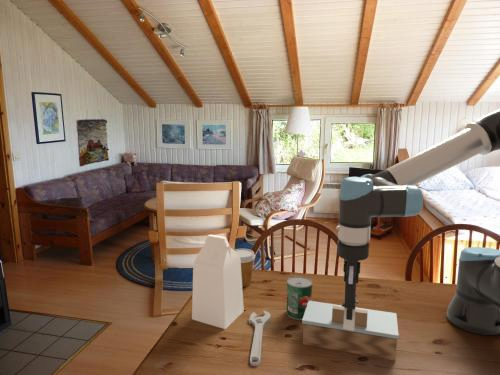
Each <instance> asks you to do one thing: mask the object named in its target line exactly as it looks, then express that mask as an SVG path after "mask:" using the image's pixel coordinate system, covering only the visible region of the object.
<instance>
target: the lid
mask: <svg viewBox="0 0 500 375" xmlns="http://www.w3.org/2000/svg"><path fill="white" fill-rule="evenodd" d="M397 317H398V316H397V313H396V312H391V311H390V312H389V311H384V310H376V309H371V308H370V309H368V308H361V307H357V306H356V307H355V325H354V331H352V330H346V329H343V323H344V307H342V304H335V303H330V302H329V303H328V302H321V301H314V300H312V301H308V304H307V307H306V310H305V313H304V316H303V319H302V320H301V324H302V325H303V324H309V325H315V326H321V327H327V328H333V329H339V330H345V331H352V332H358V333H364V334H370V335H376V336H382V337H388V338H394V339H397V340H398V339H399V337H400V336H399V335H400V334H399V326H398V318H397Z"/></svg>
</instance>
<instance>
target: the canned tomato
mask: <svg viewBox="0 0 500 375" xmlns="http://www.w3.org/2000/svg"><path fill="white" fill-rule="evenodd" d="M312 296H313V280H312V279H311V278H308V277H306V276H301V275H299V276H298V275H296V276H290V277H289V278H288V279H287V281H286V315H287V317H288V318H290V319H293V320H297V321H302V319H303V316H304V313H305V310H306V307H307V304H308V301H313V297H312Z"/></svg>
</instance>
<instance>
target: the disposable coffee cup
mask: <svg viewBox="0 0 500 375" xmlns="http://www.w3.org/2000/svg"><path fill="white" fill-rule="evenodd" d="M233 250H234V251H235V252H236V253H237V254H238V255H239V256H240V260H241V275H242V288H244V287H248V286H251V285H252V284H251V283H252V277H253V268H254V263H255V262H254V261H255V258H256V255H255V252H254V251H253V250H251V249H250V248H249V249H248V248H236V249H233Z"/></svg>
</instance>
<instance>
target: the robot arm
mask: <svg viewBox="0 0 500 375" xmlns="http://www.w3.org/2000/svg"><path fill="white" fill-rule="evenodd" d="M499 150H500V108H498V109H496V110H493V111H491V112H489V113H487V114H484V115H483V116H481V117H479V118H477V119H475V120H473V121H471V122H468V123H467V124H466V125H465V126H464V129H463V130H461V131H460V132H458V133H455V134H454V135H452V136H449V137H447V138H445V139H444V140H441V141H439V142H437V143H436V144H434V145H431V146H429V147H428V148H425V149H423V150H421V151H420V152H418V153H416V154H414V155H411V156H409V157H408V158H406V159H404V160H401V161H400V162H398V163H396V164H393V165H392V166H390V167H387V168H385V169H384V170H383V169H382V170H381V171H379V172H377V173H375V174H372V173H367V174H363V175H361V176H349V177H344V178H343V179H342V180H341V182H340V186H339V193H338V194H339V195H338V199H339V201H338V225H337V226H335V230H336V231H338V232H337V239H338V241H337V247H336V253H337V256H338V257H339V258H341V259H343V260H344V262H343V267H342V268H343V270H342V271H343V273H344V274H343V281H344V282H345V285H344V302H342V303H341V305H342V307H344V323H343V329H346V330H352V331H354V325H355V307H357V306H356V304H357V305H358V304H359V300H358V299H356V297H357V284H358V283H359V278H360V277H359V276H360V273H361V261H365V260H367V259H368V258H369V255H370V243H369V242H370V241H371V229H372V228H371V227H372V225H371V224H372V221H371V220H372V218H388V217H389V218H397V217H398V218H400V217H401V218H406V217H414V216H415V217H416V216H418V215H419V214H420V213H421V212H422V210H423V207H424V195H423V192H422V190H421V188H419V187H418V186H417V185H418V184H421V183H422V182H425V181H427V180H429V179H430V178H432V177H436V176H437V175H439V174H441V173H443V172H445V171H447V170H449V169H451V168H453V167H455V166H458V165H459V164H461V163H463V162H465V161H468V160H469V159H471V158H474V157H475V156H478V155H481V156H486V155H488V154H490V153H492V152H494V151H499ZM457 268H458V271H457V279H456V288H455V294H454V295H453V298H452V299H451V300H450V303H449V304H448V307H447V310H446V318H447V319H448V321H449V322H450V323H451V324H452V325H454V326H456V327H458V329H461V330H463V331H466V332H469V333H471V334H475V335H476V334H477V335H482V336H496V335H497V336H498V335H500V249H496V248H491V247H485V246H484V247H481V246H479V247H478V246H473V247H472V246H471V247H466V248H463V249H462V250H461V251H460V255H459V258H458V267H457Z"/></svg>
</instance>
